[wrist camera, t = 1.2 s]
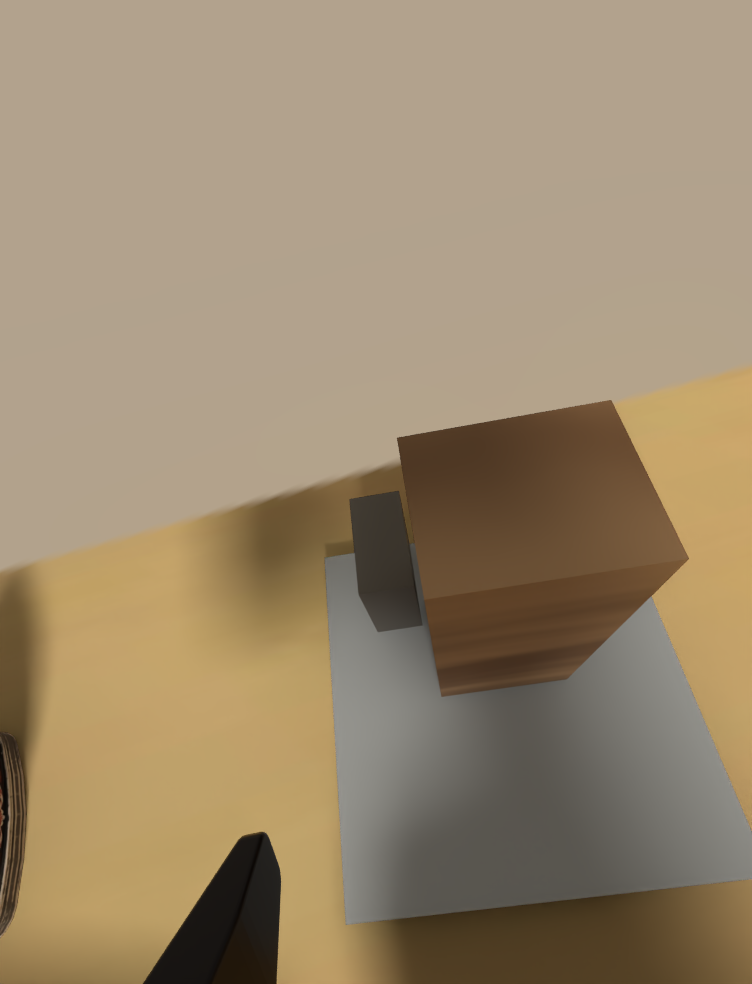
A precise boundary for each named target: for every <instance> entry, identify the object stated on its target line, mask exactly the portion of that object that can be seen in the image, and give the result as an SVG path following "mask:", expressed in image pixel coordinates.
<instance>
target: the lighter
mask: <svg viewBox="0 0 752 984" xmlns="http://www.w3.org/2000/svg"><path fill="white" fill-rule="evenodd" d="M25 825H26V805H25V791H24V777H23V771H22V766H21V760H20V755H19V750H18V745H17V742H16V740H15V738H14V736H12V735H11V734H9V733H6V732H0V938H1V936H2V935H3V934H4V933H5V932H6V930H7V928H8V927H9V925H10V923H11V921H12V920H13V917H14V913H15V910H16V907H17V901H18V894H19V887H20V880H21V873H22V867H23V860H24V844H25Z"/></svg>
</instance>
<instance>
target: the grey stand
mask: <svg viewBox="0 0 752 984" xmlns="http://www.w3.org/2000/svg"><path fill="white" fill-rule="evenodd" d="M349 500H350V510H351V521H352V531H353V542H354V553H351V554H345V555H339V556H333V557H326V558H325V573H326V590H327V608H328V625H329V642H330V660H331V677H332V694H333V712H334V729H335V746H336V764H337V781H338V798H339V816H340V833H341V850H342V867H343V885H344V902H345V919H346V925H349V924H358V923H366V922H375V921H384V920H393V919H402V918H411V917H420V916H429V915H438V914H446V913H455V912H464V911H473V910H482V909H491V908H500V907H509V906H517V905H526V904H535V903H544V902H553V901H562V900H571V899H580V898H589V897H597V896H606V895H615V894H624V893H633V892H642V891H651V890H660V889H669V888H677V887H686V886H695V885H704V884H713V883H722V882H731V881H740V880H749V879H752V831H751V829H750V826H749V824H748V822H747V819H746V817H745V815H744V812H743V810H742V808H741V805H740V803H739V801H738V798H737V796H736V794H735V791H734V789H733V786H732V784H731V782H730V779H729V777H728V775H727V772H726V770H725V768H724V765H723V763H722V761H721V758H720V756H719V754H718V751H717V749H716V747H715V744H714V742H713V740H712V737H711V735H710V733H709V730H708V728H707V726H706V723H705V721H704V719H703V716H702V714H701V712H700V709H699V707H698V705H697V702H696V700H695V697H694V695H693V693H692V690H691V688H690V686H689V683H688V681H687V679H686V676H685V674H684V672H683V669H682V667H681V665H680V662H679V660H678V658H677V655H676V653H675V651H674V648H673V646H672V644H671V641H670V639H669V637H668V634H667V632H666V630H665V627H664V625H663V623H662V620H661V618H660V616H659V613H658V611H657V608H656V606H655V604H654V601H653V599H652V597H650V598H649V599H648V600H647V601H646V602H645V603H644V604H643V605H642V606H641V607H640V608H639V609H638V610H637V611H636V612H635V613H634V614H633V615H632V616H631V617H630V618H629V619H628V620H627V621H626V622H625V623H623V624H622V625H621V626H620V627H619V628H618V629H617V630H616V631H615V632H614V633H613V634H612V635H611V636H610V637H609V638H608V639H607V640H606V641H605V642H604V643H603V644H602V645H601V646H600V647H599V648H598V649H597V650H596V651H595V652H594V653H593V654H592V655H591V656H590V657H589V658H588V659H587V660H586V661H585V662H584V663H583V664H582V665H581V666H580V667H579V668H578V669H577V670H576V671H575V672H574V673H573V674H572V675H571V676H570V677H569V678H568V679H565V680H558V681H551V682H544V683H537V684H530V685H523V686H516V687H509V688H502V689H495V690H488V691H480V692H473V693H466V694H459V695H452V696H445V697H441V692H440V686H439V680H438V675H437V669H436V663H435V658H434V652H433V647H432V641H431V635H430V630H429V624H428V619H427V613H426V607H425V602H424V596H423V590H422V584H421V578H420V572H419V566H418V560H417V554H416V548H415V543H413V544H409V540H408V535H407V530H406V525H405V519H404V514H403V509H402V504H401V499H400V494H399V491H395V492H389V493H383V494H377V495H371V496H365V497H359V498H354V499H349Z"/></svg>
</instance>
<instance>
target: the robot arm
mask: <svg viewBox="0 0 752 984" xmlns="http://www.w3.org/2000/svg"><path fill="white" fill-rule="evenodd" d="M280 894H281V875H280V868H279V865H278V862H277V859H276V856H275V853H274V851H273V848H272V845H271V842H270V839H269V837H268V835H267V834H266V833H265V832H258V833H253V834H248V835H244V836H242V837H241V838H240V839H239V840H238V841H237V843H236V844H235V846H234V847H233V849H232V850H231V852H230V853H229V855H228V856H227V858H226V859H225V861H224V862H223V864H222V865H221V867H220V868H219V870H218V871H217V873H216V874H215V876H214V877H213V879H212V880H211V882H210V883H209V885H208V886H207V888H206V889H205V891H204V892H203V894H202V895H201V897H200V898H199V900H198V901H197V903H196V904H195V906H194V907H193V909H192V910H191V912H190V914H189V915H188V917H187V918H186V920H185V921H184V923H183V924H182V926H181V927H180V929H179V930H178V932H177V933H176V935H175V936H174V938H173V939H172V941H171V942H170V944H169V945H168V947H167V948H166V950H165V951H164V953H163V954H162V956H161V957H160V959H159V960H158V962H157V963H156V965H155V966H154V968H153V969H152V971H151V972H150V974H149V975H148V977H147V978H146V980H145V981H144V983H143V984H276V982H277V960H278V938H279V916H280Z"/></svg>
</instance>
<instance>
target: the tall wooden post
mask: <svg viewBox="0 0 752 984" xmlns="http://www.w3.org/2000/svg"><path fill="white" fill-rule="evenodd" d="M397 441H398V446H399V453H400V459H401V465H402V471H403V477H404V483H405V489H406V495H407V501H408V506H409V512H410V518H411V524H412V530H413V536H414V542H415V548H416V554H417V560H418V566H419V572H420V578H421V584H422V590H423V596H424V602H425V607H426V613H427V619H428V624H429V630H430V635H431V641H432V647H433V652H434V658H435V663H436V669H437V675H438V680H439V686H440V692H441V697H445V696H452V695H459V694H466V693H473V692H480V691H488V690H495V689H502V688H509V687H516V686H523V685H530V684H537V683H544V682H551V681H558V680H565V679H568V678H569V677H570V676H571V675H572V674H573V673H574V672H575V671H576V670H577V669H578V668H579V667H580V666H581V665H582V664H583V663H584V662H585V661H586V660H587V659H588V658H589V657H590V656H591V655H592V654H593V653H594V652H595V651H596V650H597V649H598V648H599V647H600V646H601V645H602V644H603V643H604V642H605V641H606V640H607V639H608V638H609V637H610V636H611V635H612V634H613V633H614V632H615V631H616V630H617V629H618V628H619V627H620V626H621V625H622V624H623V623H625V622H626V621H627V620H628V619H629V618H630V617H631V616H632V615H633V614H634V613H635V612H636V611H637V610H638V609H639V608H640V607H641V606H642V605H643V604H644V603H645V602H646V601H647V600H648V599H649V598H650V597H651V596H652V595H653V594H654V593H655V592H656V591H657V590H658V589H659V588H660V587H661V586H662V585H663V584H664V583H665V582H666V581H667V580H668V579H669V578H670V577H671V576H672V575H673V574H674V573H675V572H676V571H677V570H678V569H679V568H680V567H681V566H682V565H683V564H684V563H685V562H686V561H687V560H688V559H689V558H688V556H687V554H686V552H685V549H684V547H683V545H682V543H681V541H680V539H679V537H678V535H677V533H676V531H675V529H674V527H673V525H672V523H671V521H670V519H669V517H668V515H667V513H666V511H665V509H664V507H663V505H662V503H661V501H660V499H659V497H658V494H657V492H656V490H655V488H654V486H653V484H652V482H651V480H650V478H649V476H648V474H647V472H646V470H645V468H644V466H643V464H642V462H641V460H640V458H639V456H638V454H637V452H636V450H635V448H634V446H633V444H632V442H631V439H630V437H629V435H628V433H627V431H626V429H625V427H624V425H623V423H622V421H621V419H620V417H619V415H618V413H617V411H616V409H615V407H614V405H613V403H612V401H611V400H609V401H603V402H598V403H592V404H586V405H580V406H575V407H569V408H564V409H558V410H552V411H546V412H541V413H535V414H529V415H524V416H518V417H512V418H507V419H501V420H496V421H490V422H484V423H478V424H473V425H467V426H461V427H455V428H450V429H444V430H439V431H433V432H427V433H421V434H416V435H410V436H405V437H399V438H397Z"/></svg>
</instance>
